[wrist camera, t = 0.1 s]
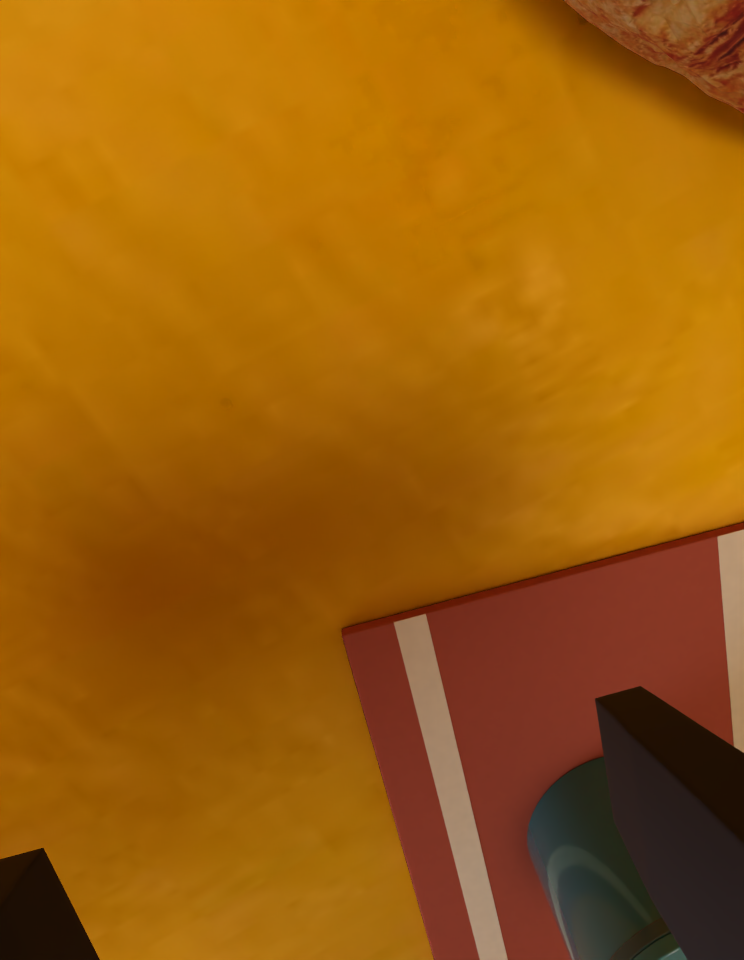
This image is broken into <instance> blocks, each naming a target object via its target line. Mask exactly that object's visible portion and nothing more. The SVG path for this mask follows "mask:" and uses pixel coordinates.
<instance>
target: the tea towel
mask: <svg viewBox="0 0 744 960" xmlns="http://www.w3.org/2000/svg"><path fill="white" fill-rule="evenodd" d="M341 632H342V638H343V641H344V645H345V648H346V652H347V655H348V659H349V662H350V666H351V669H352V673H353V676H354V680H355V683H356V687H357V691H358V694H359V698H360V701H361V705H362V708H363V712H364V715H365V719H366V722H367V726H368V729H369V733H370V736H371V740H372V743H373V747H374V750H375V754H376V757H377V761H378V764H379V768H380V771H381V775H382V778H383V782H384V785H385V789H386V792H387V796H388V799H389V803H390V806H391V810H392V813H393V817H394V820H395V824H396V827H397V831H398V834H399V838H400V841H401V845H402V848H403V852H404V855H405V859H406V862H407V866H408V869H409V873H410V876H411V880H412V883H413V887H414V890H415V894H416V897H417V901H418V904H419V908H420V911H421V915H422V918H423V922H424V925H425V929H426V932H427V936H428V939H429V943H430V946H431V950H432V953H433V957H434V960H570V958H569V955H568V953H567V950H566V948H565V945H564V943H563V940H562V938H561V935H560V932H559V930H558V927H557V925H556V922H555V920H554V917H553V915H552V912H551V910H550V907H549V905H548V902H547V899H546V897H545V894H544V892H543V889H542V887H541V884H540V882H539V879H538V877H537V874H536V871H535V869H534V866H533V864H532V861H531V859H530V855H529V852H528V846H527V831H528V826H529V821H530V818H531V816H532V813H533V811H534V809H535V807H536V805H537V803H538V802H539V800H540V799H541V797H542V796H543V794H544V793H545V792H546V791H547V790H548V789H549V788H550V786H551V785H553V784H554V783H555V782H556V781H557V780H558V779H559V778H561V777H562V776H563V775H565V774H566V773H567V772H569V771H570V770H572V769H574V768H576V767H577V766H579V765H581V764H584V763H586V762H588V761H590V760H594V759H597V758H600V757H603V756H604V755H603V748H602V742H601V735H600V729H599V722H598V716H597V709H596V703H595V698H598V697H601V696H605V695H609V694H613V693H616V692H620V691H624V690H627V689H631V688H635V687H638V686H641V687H643V688H645V689H646V690H648V691H649V692H651V693H653V694H654V695H656V696H657V697H659V698H660V699H662V700H663V701H665V702H666V703H668V704H669V705H671V706H673V707H674V708H676V709H677V710H679V711H680V712H682V713H683V714H685V715H686V716H688V717H689V718H691V719H692V720H694V721H695V722H697V723H698V724H700V725H701V726H703V727H704V728H706V729H708V730H709V731H711V732H712V733H714V734H715V735H717V736H718V737H720V738H721V739H723V740H725V741H726V742H728V743H729V744H731V745H732V746H734V747H735V748H737V749H739V750H740V751H742V752H743V753H744V523H740V524H736V525H732V526H728V527H725V528H721V529H717V530H713V531H710V532H706V533H702V534H698V535H694V536H691V537H687V538H683V539H679V540H676V541H672V542H668V543H664V544H660V545H657V546H653V547H649V548H645V549H642V550H638V551H634V552H630V553H626V554H623V555H619V556H615V557H611V558H608V559H604V560H600V561H596V562H593V563H589V564H585V565H581V566H577V567H574V568H570V569H566V570H562V571H559V572H555V573H551V574H547V575H543V576H540V577H536V578H532V579H528V580H525V581H521V582H517V583H513V584H509V585H506V586H502V587H498V588H494V589H491V590H487V591H483V592H479V593H475V594H472V595H468V596H464V597H460V598H457V599H453V600H449V601H445V602H441V603H438V604H434V605H430V606H426V607H423V608H419V609H415V610H411V611H407V612H404V613H400V614H396V615H392V616H389V617H385V618H381V619H377V620H373V621H370V622H366V623H362V624H358V625H355V626H351V627H347V628H343V629H342V630H341Z"/></svg>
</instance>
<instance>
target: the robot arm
mask: <svg viewBox="0 0 744 960" xmlns="http://www.w3.org/2000/svg"><path fill="white" fill-rule="evenodd" d="M595 703H596V709H597V716H598V722H599V729H600V735H601V742H602V748H603V755H604V761H605V768H606V774H607V780H608V787H609V793H610V800H611V806H612V813H613V819H614V822H615V825H616V827H617V829H618V831H619V833H620V835H621V837H622V839H623V842H624V844H625V846H626V848H627V850H628V852H629V854H630V857H631V859H632V861H633V863H634V865H635V867H636V869H637V871H638V873H639V875H640V877H641V879H642V881H643V883H644V886H645V888H646V890H647V892H648V894H649V896H650V898H651V900H652V902H653V903H654V905H655V907H656V908H657V910H658V912H659V913H660V915H661V917H662V918H663V920H664V922H665V923H666V925H667V927H668V928H669V930H670V932H671V933H672V935H673V937H674V938H675V940H676V942H677V943H678V945H679V947H680V948H681V950H682V951H683V953H684V955H685V956H686V958H687V960H744V753H743V752H742V751H740V750H739V749H737V748H735V747H734V746H732V745H731V744H729V743H728V742H726V741H725V740H723V739H721V738H720V737H718V736H717V735H715V734H714V733H712V732H711V731H709V730H708V729H706V728H704V727H703V726H701V725H700V724H698V723H697V722H695V721H694V720H692V719H691V718H689V717H688V716H686V715H685V714H683V713H682V712H680V711H679V710H677V709H676V708H674V707H673V706H671V705H669V704H668V703H666V702H665V701H663V700H662V699H660V698H659V697H657V696H656V695H654V694H653V693H651V692H649V691H648V690H646V689H645V688H643V687H641V686H638V687H635V688H631V689H627V690H624V691H620V692H616V693H613V694H609V695H605V696H601V697H598V698H595ZM0 960H100V959H99V957H98V955H97V953H96V951H95V949H94V947H93V945H92V943H91V941H90V939H89V937H88V935H87V933H86V932H85V930H84V928H83V926H82V924H81V922H80V920H79V918H78V916H77V914H76V912H75V910H74V908H73V906H72V904H71V902H70V900H69V898H68V896H67V894H66V892H65V890H64V888H63V886H62V884H61V882H60V880H59V878H58V876H57V874H56V872H55V870H54V868H53V866H52V864H51V862H50V860H49V858H48V856H47V854H46V852H45V850H44V848H41V849H37V850H33V851H30V852H26V853H22V854H19V855H15V856H11V857H7V858H4V859H0Z"/></svg>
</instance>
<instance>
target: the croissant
mask: <svg viewBox="0 0 744 960" xmlns="http://www.w3.org/2000/svg"><path fill="white" fill-rule="evenodd" d="M563 1H565V2H566V3H567V4H568V5H569V6H570V7H572V8H573V9H574V10H575V11H576V12H577V13H579V14H580V15H581V16H582V17H583V18H584V19H585V20H587V21H588V22H590V23H592V24H593V25H595V26H596V27H598V28H599V29H600V30H602V31H603V32H604V33H606V34H607V35H608V36H610V37H611V38H613V39H614V40H615V41H617V42H618V43H619V44H621V45H623V46H624V47H626V48H628V49H629V50H631V51H633V52H635V53H636V54H638V55H640V56H641V57H643V58H645V59H646V60H648V61H650V62H652V63H653V64H655V65H659V66H664V67H667V68H669V69H671V70H673V71H675V72H677V73H679V74H681V75H683V76H685V77H686V78H687V79H689V80H690V81H691V82H692V83H693V84H695V85H696V86H697V87H698V88H700V89H701V90H702V91H703V92H705V93H706V94H707V95H708V96H710V97H712V98H715V99H717V100H719V101H722V102H724V103H726V104H728V105H730V106H732V107H734V108H735V109H737V110H739V111H740V112H742V113H743V114H744V0H563Z"/></svg>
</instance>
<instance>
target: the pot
mask: <svg viewBox="0 0 744 960" xmlns="http://www.w3.org/2000/svg"><path fill="white" fill-rule="evenodd" d="M527 846H528V852H529V855H530V859H531V861H532V864H533V866H534V869H535V871H536V874H537V877H538V879H539V882H540V884H541V887H542V889H543V892H544V894H545V897H546V899H547V902H548V905H549V907H550V910H551V912H552V915H553V917H554V920H555V922H556V925H557V927H558V930H559V932H560V935H561V938H562V940H563V943H564V945H565V948H566V950H567V953H568V955H569V958H570V960H687V958H686V956H685V955H684V953H683V951H682V950H681V948H680V947H679V945H678V943H677V942H676V940H675V938H674V937H673V935H672V933H671V932H670V930H669V928H668V927H667V925H666V923H665V922H664V920H663V918H662V917H661V915H660V913H659V912H658V910H657V908H656V907H655V905H654V903H653V902H652V900H651V898H650V896H649V894H648V892H647V890H646V888H645V886H644V883H643V881H642V879H641V877H640V875H639V873H638V871H637V869H636V867H635V865H634V863H633V861H632V859H631V857H630V854H629V852H628V850H627V848H626V846H625V844H624V842H623V839H622V837H621V835H620V833H619V831H618V829H617V827H616V825H615V822H614V819H613V813H612V806H611V800H610V793H609V787H608V780H607V774H606V768H605V761H604V756H603V757H600V758H597V759H594V760H590V761H588V762H586V763H584V764H581V765H579V766H577V767H576V768H574V769H572V770H570V771H569V772H567V773H566V774H565V775H563V776H562V777H561V778H559V779H558V780H557V781H556V782H555V783H554V784H553V785H551V786H550V788H549V789H548V790H547V791H546V792H545V793H544V794H543V796H542V797H541V799H540V800H539V802H538V803H537V805H536V807H535V809H534V811H533V813H532V816H531V818H530V821H529V826H528V831H527Z"/></svg>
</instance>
